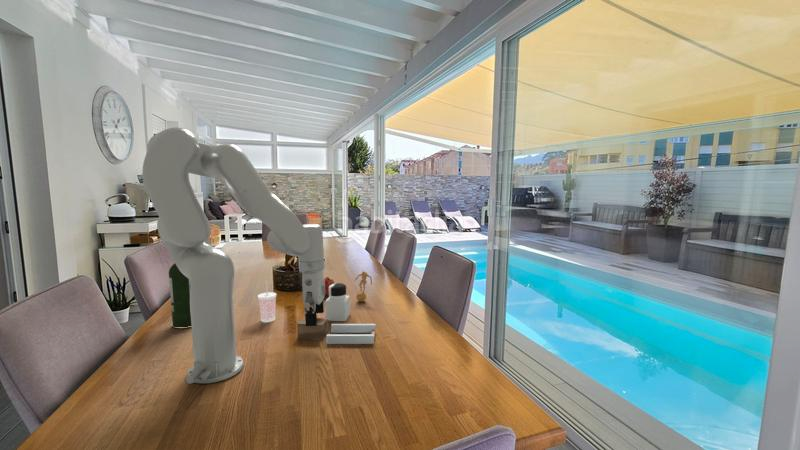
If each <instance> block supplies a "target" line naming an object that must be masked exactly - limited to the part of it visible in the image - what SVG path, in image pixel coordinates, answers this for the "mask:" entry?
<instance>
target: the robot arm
mask: <svg viewBox="0 0 800 450" xmlns="http://www.w3.org/2000/svg"><path fill="white" fill-rule="evenodd" d="M146 149H147V150H146V151H147V152H146V154H145V156H144V159H143V164H142V181H143V186H144V188H145V191H146V194H147V196H148V197H149V199H150V201H151V204H152V206H153V208H154V210H155V211H156V213H157V215H158V218H157V221H156V222H157V223H156V226H157V232H158V236H159V237H160V239H161V241H162V242H163V244H164V246H165V249H167V251H168V253H169V256H170V257H171V259H172V260H173V262H174V263H175V264H176V265H177V267H178V269H179V270H180V272H181V273H182V274H183V275H184V276H186V277H187V278H188V279H190V283H191V290H190V314H191V325H192V327H191V336H192V337H191V338H192V339H191V340H192V351H193V352H192V353H193V365H191V366H190V367H189V369H188V371H187V376H186V378H185V382H186V383H187V384H188V385H189V384H190V385H191V384H193V383H195V384H204V385H205V384H212V383H213V384H214V383H217V382H222V381H225V380H227V379H230V378H232V377H233V376H235V375H237V374H238V373H239V372H240V371H241V370H242V369H243V367H244V359H243V358H242V357H241V356H238V355H237V345H236V344H237V343H236V341H237V340H236V327H235V311H234V310H235V309H234V282H235V266H234V262H233V260H232V258H231V257H230V256H229V254H228V253H227V252H225V251H224V250H221V249H220V248H217V247H214V246H213V245H212V243H211V241H210V237H211V230H212V228H211V224H210V221H209V218H208V217H207V215H206V213H205V212H204V210H203V207H202V206H201V203H200V202H199V200H198V198H197V196H196V194H195V192H194V189H193V187H192V185H191V182H190V176H189V175H190V174H193V175H197V176H201V177H206V178H213V179H219V180H220V182H221V183H222V184H223V185H224V186H225V188H226V189H227V190H228V192H229V193H230V194H231V196H232V197H233V199H235V201H236V203H238V205H239V206H240V208H241V209H243V211H245V212H246V213H247V214H248V215H250V216H251V217H254V218H255V219H257V220H258V221H260V222H262V223H263V224H264V225H265V226H266V227H267V228H268V229H270V231H269V232H268V235H267V238H266V242H267V244H268V247H270V249H271V250H273V251H275V252H278V253H281V254H285V255H288V256H291V257H298V258H297V259H298V272H300V273H302V274H301V275H302V276H301V277H302V278H301V280H302V281H301V284H302V285H301V286H302V287H301V288H302V301H303V305H304V317H305V320H306V326H316V325H317V318H318V317H317V314H323V313H325V310H324V309H325V307H324V298H325V297H326V296H325V295H326V291H325V281H324V279H325V276H324V275H325V274H324V271H325V269H326V268H325V253H324V252H325V250H324V235H323V233H324V232H323V227H322V226H321V225H320V224H318V223H304V224H303V223H302V222H301V220H300V218H298V216H297V215H296V214H295V213H294V212H293V210H292V209H290V208H289V207H288V206H287V205H286V204H285V203H284V202H283V201H282V200H281V199H280V198H279V197H278V196H277V195H276V194H275V193H273V192H272V190H271V189H270V188H269V186H268V185H267V184H266V182H265V180H264V179H263V178H262V176H261V175H260V174H259V172H258V171H257V169H256V168H255V166H254V165H253V164H252V162H251V161H250V160H249V157H248V156H247V155H246V154H245V152H244V151H243V150H242V148H240V147H239V146H237V145H235V144H231V143H230V144H228V143H227V144H226V143H224V144H223V143H222V144H217V145H213V144H209V143H204V142H201V141H198V139H197V137H196V136H195V135H194V133H192V132H191V131H190V130H188V129H186V128H183V127H178V126H174V127H169V128H166V129H162V130H161V131H159V132H158V133H155V134H154V135H152V136H151V138H149V140H148V143H147V148H146Z"/></svg>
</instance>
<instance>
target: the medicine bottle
mask: <svg viewBox="0 0 800 450" xmlns="http://www.w3.org/2000/svg"><path fill="white" fill-rule="evenodd" d="M334 283H335V282H334ZM350 297H351V295H347V285H346V284H344V283H342V282H338V283H335V284H332V285H330V286H329V294H328V298H326V300H325V301H324V306H325V307H324V309H325V310H324V313H325V318H324V319H328V322H346V321H347V320H348V318H349V316H350V314H351V298H350Z"/></svg>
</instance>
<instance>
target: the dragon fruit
mask: <svg viewBox="0 0 800 450" xmlns="http://www.w3.org/2000/svg"><path fill="white" fill-rule="evenodd" d="M324 281H325V291H326V295H325V297H329V286H330V285H332V284H335V281H334V280H333V279H330V277H328V276H327V277H324Z"/></svg>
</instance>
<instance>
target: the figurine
mask: <svg viewBox="0 0 800 450" xmlns="http://www.w3.org/2000/svg"><path fill="white" fill-rule="evenodd" d="M359 277H361V279H360V282H359V285H358V286H359V287H360V290H359V292H358V293H357V294H356V300H357V301H358V302H360V303H361V302H365V301H366V299H367V294H366V293H365V290H366V286H367V285H366V284H367V282H368V281H367V280H366V279H368V278H369V279H370V286H371V285H373V282H372V281H373V279H372V278H373V277H372V276H371V275H369V273H368V272H367V271H362V273H360V274H358V275H357V277H355V279H354V281H353V283H355V282H356V281H357V280H358V278H359Z"/></svg>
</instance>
